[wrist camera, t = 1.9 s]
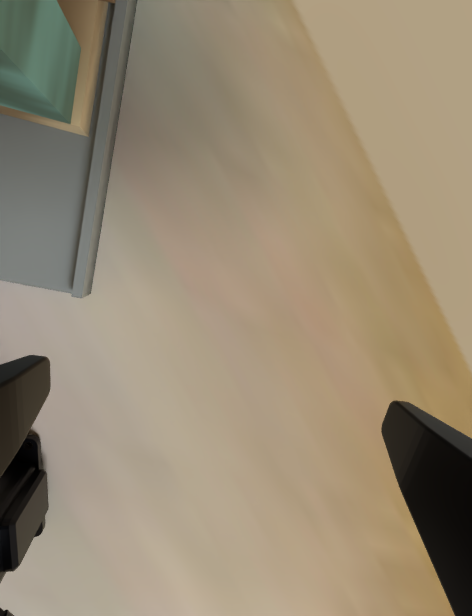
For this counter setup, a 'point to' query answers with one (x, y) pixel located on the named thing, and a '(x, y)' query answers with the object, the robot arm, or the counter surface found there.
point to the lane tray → (62, 179)
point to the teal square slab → (51, 60)
